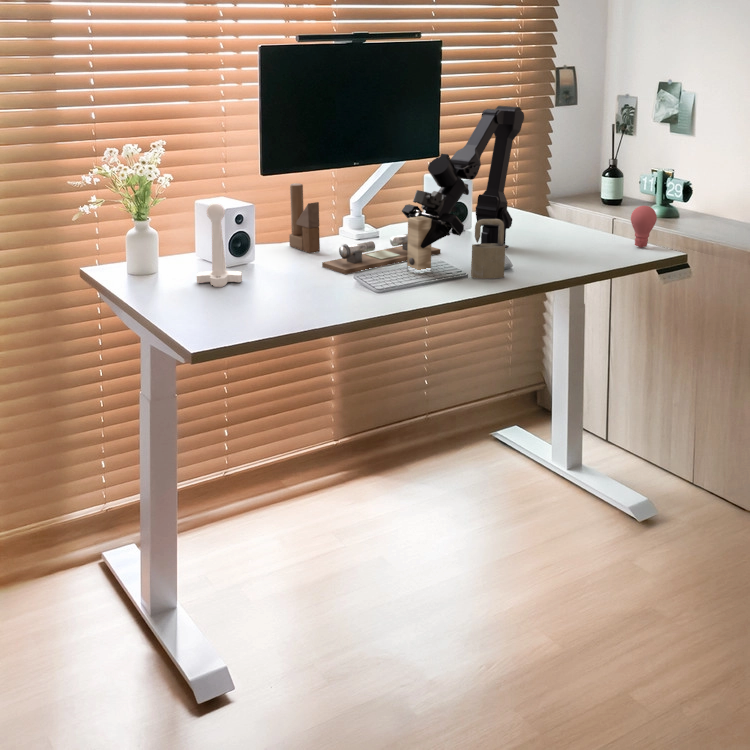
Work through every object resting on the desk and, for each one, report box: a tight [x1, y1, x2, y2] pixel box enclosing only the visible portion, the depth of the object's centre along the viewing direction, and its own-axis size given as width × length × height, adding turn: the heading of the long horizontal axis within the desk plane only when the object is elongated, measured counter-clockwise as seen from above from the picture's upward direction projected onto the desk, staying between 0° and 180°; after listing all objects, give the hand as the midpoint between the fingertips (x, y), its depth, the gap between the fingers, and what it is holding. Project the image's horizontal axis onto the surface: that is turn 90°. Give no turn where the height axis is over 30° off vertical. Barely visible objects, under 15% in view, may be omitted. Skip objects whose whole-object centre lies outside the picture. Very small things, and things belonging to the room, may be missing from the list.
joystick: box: [196, 202, 243, 288], centre depth 242 cm, size 11×8×20 cm
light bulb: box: [630, 205, 658, 249], centre depth 278 cm, size 7×7×12 cm
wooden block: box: [288, 182, 321, 254], centre depth 276 cm, size 4×11×18 cm, turn 36°
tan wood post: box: [406, 216, 432, 270], centre depth 254 cm, size 5×4×14 cm
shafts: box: [338, 233, 408, 264], centre depth 266 cm, size 28×4×5 cm, turn 130°
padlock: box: [470, 219, 506, 280], centre depth 249 cm, size 4×8×15 cm, turn 94°
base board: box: [321, 245, 441, 275], centre depth 267 cm, size 34×10×2 cm, turn 130°
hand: (415, 245), depth 253 cm, fingers closed on tan wood post, 5 cm apart
